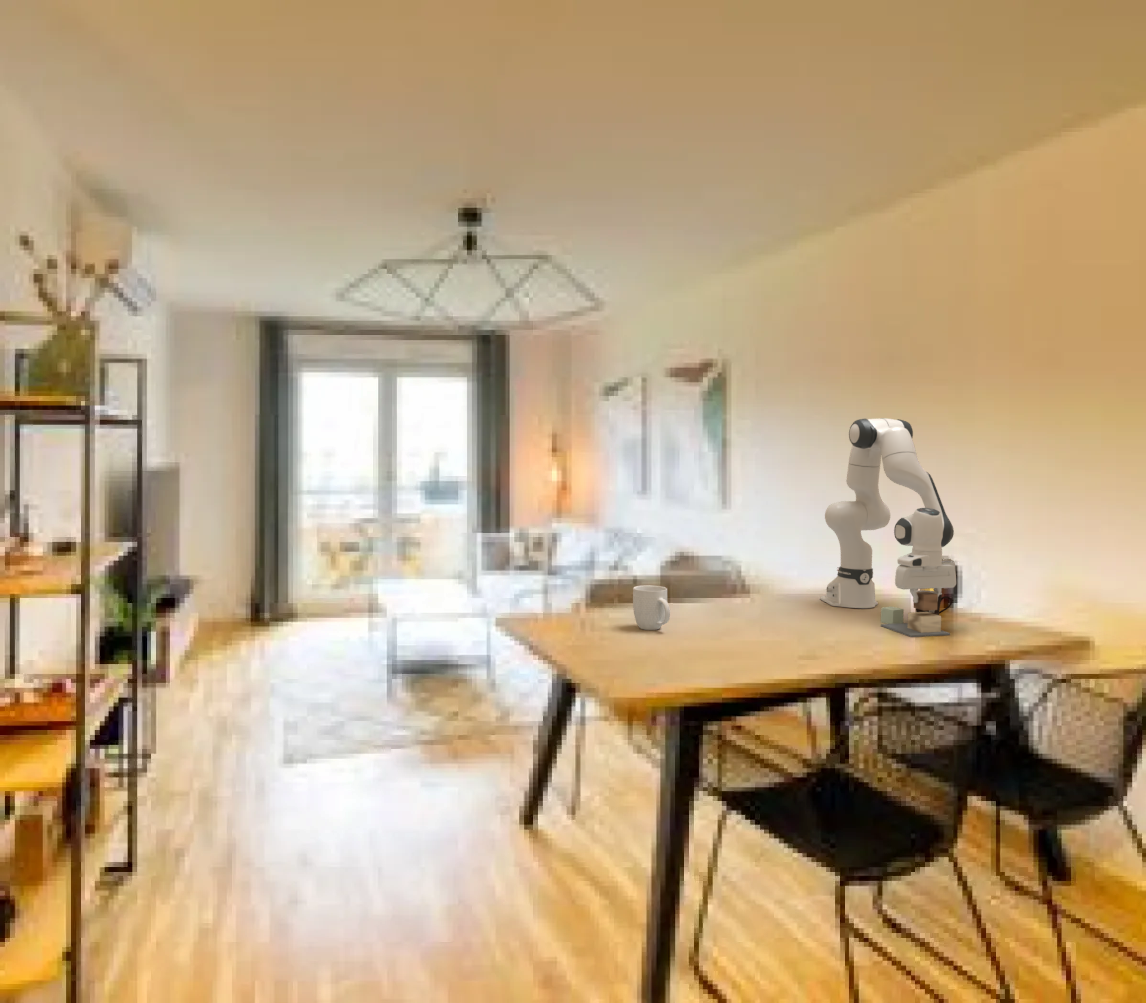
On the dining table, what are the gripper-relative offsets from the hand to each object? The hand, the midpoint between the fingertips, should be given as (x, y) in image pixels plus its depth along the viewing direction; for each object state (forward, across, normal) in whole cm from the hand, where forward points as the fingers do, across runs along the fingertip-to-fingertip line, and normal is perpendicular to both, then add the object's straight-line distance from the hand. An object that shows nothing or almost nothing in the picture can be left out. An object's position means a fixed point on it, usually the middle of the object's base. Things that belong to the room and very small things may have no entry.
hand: (925, 602), depth 264 cm
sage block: (+10, +2, -14) cm, 17 cm away
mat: (+10, +2, -2) cm, 10 cm away
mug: (+10, +85, -22) cm, 88 cm away
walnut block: (+2, 0, 0) cm, 2 cm away
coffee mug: (+10, -12, -12) cm, 20 cm away
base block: (+9, 0, 0) cm, 9 cm away
